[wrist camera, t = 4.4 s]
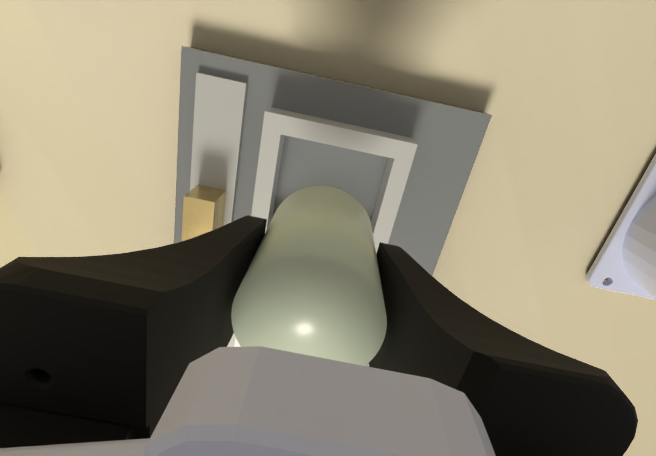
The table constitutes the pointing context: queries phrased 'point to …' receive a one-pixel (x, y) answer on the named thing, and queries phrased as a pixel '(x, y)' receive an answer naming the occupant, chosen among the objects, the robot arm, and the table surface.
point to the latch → (202, 211)
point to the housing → (323, 148)
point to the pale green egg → (314, 281)
